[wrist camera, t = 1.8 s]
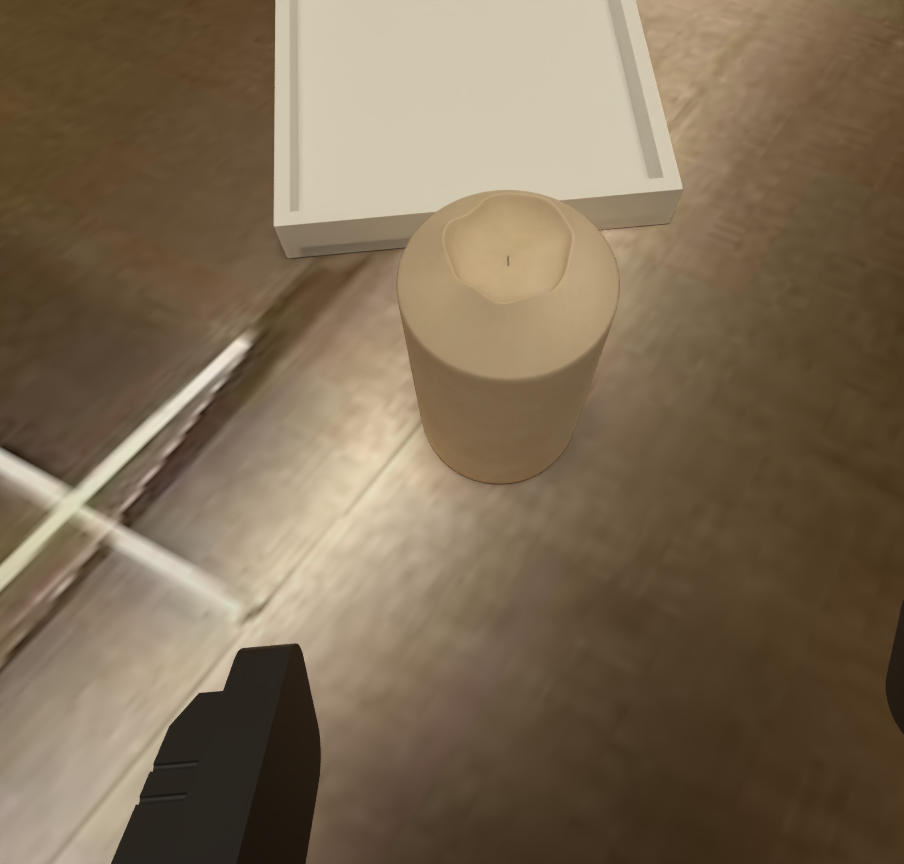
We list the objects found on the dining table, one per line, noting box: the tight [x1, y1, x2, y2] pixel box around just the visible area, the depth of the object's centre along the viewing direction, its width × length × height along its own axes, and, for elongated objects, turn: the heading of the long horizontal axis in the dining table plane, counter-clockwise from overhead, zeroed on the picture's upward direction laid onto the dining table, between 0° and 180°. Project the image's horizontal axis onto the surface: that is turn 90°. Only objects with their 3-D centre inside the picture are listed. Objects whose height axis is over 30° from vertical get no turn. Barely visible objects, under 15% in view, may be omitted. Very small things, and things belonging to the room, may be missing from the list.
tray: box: [274, 0, 683, 258], centre depth 31 cm, size 15×19×2 cm
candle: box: [397, 190, 620, 484], centre depth 21 cm, size 6×6×10 cm
